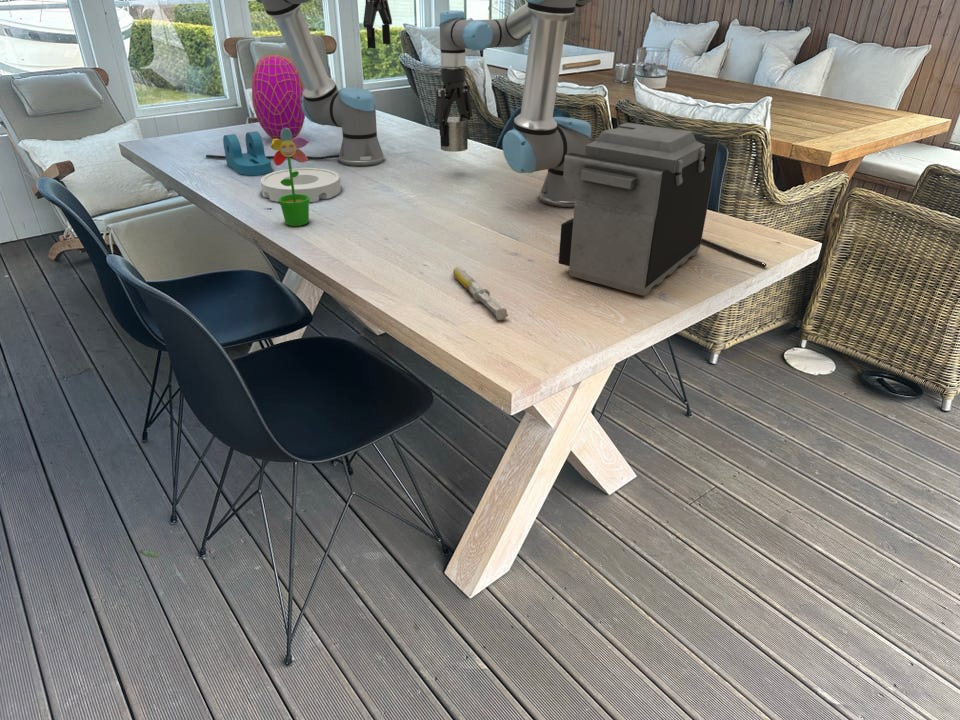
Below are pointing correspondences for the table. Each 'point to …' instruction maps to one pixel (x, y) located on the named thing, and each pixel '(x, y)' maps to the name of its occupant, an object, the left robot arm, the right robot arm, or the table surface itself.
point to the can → (457, 134)
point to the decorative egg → (277, 96)
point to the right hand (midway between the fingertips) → (454, 143)
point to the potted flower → (291, 178)
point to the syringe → (479, 293)
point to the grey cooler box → (636, 205)
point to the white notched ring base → (302, 184)
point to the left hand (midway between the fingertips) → (379, 46)
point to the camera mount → (246, 154)
